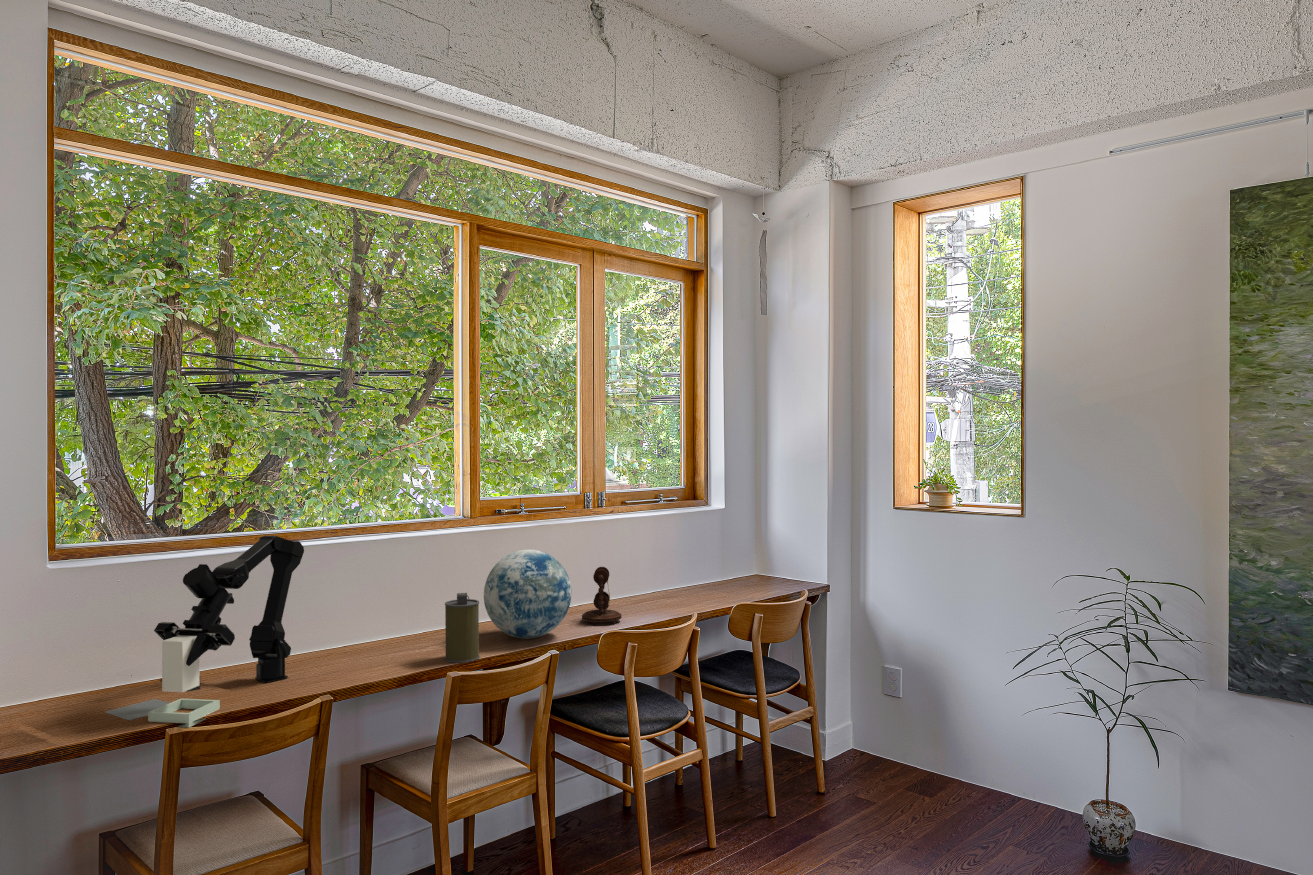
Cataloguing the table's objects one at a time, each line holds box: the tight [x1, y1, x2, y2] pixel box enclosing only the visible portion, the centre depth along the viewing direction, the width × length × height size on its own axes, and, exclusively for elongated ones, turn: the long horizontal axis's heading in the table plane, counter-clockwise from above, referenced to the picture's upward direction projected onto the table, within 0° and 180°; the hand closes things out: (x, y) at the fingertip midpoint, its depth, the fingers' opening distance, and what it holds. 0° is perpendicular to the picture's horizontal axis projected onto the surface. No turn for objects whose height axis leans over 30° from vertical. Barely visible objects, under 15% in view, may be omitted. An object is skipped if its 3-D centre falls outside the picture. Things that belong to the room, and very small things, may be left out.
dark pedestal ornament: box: [581, 566, 622, 625], centre depth 303 cm, size 15×15×20 cm
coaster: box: [104, 698, 170, 721], centre depth 201 cm, size 12×12×1 cm
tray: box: [147, 698, 221, 729], centre depth 196 cm, size 11×11×3 cm
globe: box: [483, 549, 573, 640], centre depth 278 cm, size 30×30×30 cm
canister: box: [444, 592, 480, 664], centre depth 251 cm, size 11×10×20 cm
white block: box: [161, 635, 200, 693], centre depth 196 cm, size 6×6×12 cm
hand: (176, 664), depth 195 cm, fingers closed on white block, 5 cm apart
